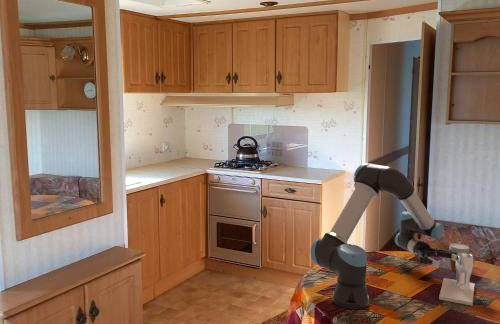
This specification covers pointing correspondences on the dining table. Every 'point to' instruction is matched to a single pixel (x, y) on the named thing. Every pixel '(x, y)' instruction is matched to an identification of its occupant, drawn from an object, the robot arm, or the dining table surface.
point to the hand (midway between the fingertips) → (450, 263)
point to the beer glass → (463, 270)
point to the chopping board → (456, 293)
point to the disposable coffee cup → (458, 249)
